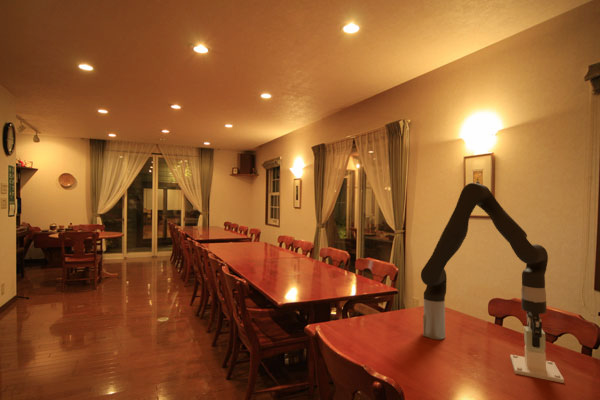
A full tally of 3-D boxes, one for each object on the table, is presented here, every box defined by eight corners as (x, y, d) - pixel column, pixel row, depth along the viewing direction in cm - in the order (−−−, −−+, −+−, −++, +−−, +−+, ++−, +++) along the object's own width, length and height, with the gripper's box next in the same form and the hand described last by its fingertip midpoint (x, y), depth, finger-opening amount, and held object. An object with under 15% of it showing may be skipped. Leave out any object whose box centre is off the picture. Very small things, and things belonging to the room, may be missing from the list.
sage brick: (526, 347, 118) (526, 331, 118) (524, 341, 123) (523, 326, 123) (545, 350, 115) (545, 333, 115) (542, 344, 120) (541, 328, 120)
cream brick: (527, 367, 118) (527, 351, 118) (524, 361, 123) (524, 345, 123) (546, 371, 115) (545, 354, 115) (542, 364, 120) (542, 348, 120)
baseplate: (515, 373, 116) (515, 368, 116) (510, 357, 128) (510, 353, 128) (564, 383, 109) (563, 378, 109) (554, 365, 122) (553, 361, 122)
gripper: (518, 292, 128) (519, 335, 127) (524, 301, 115) (525, 349, 114) (541, 295, 124) (542, 339, 124) (550, 304, 111) (551, 353, 111)
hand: (534, 343), depth 119 cm, fingers closed on sage brick, 5 cm apart
